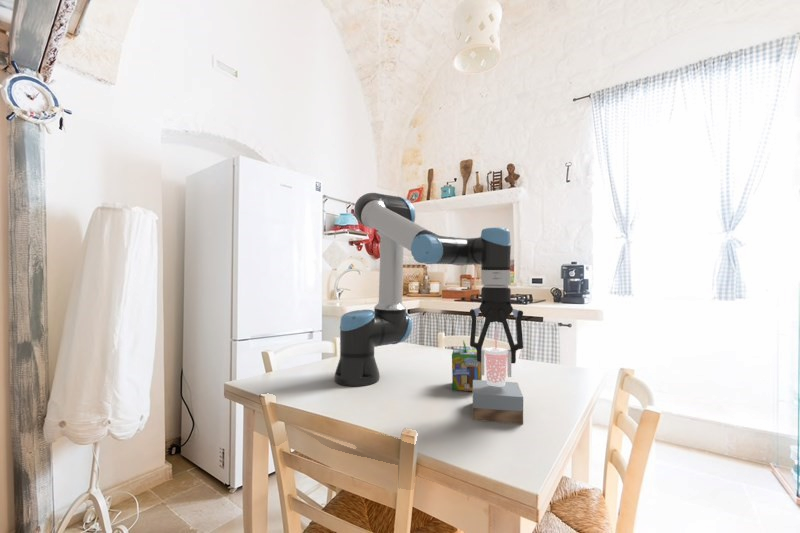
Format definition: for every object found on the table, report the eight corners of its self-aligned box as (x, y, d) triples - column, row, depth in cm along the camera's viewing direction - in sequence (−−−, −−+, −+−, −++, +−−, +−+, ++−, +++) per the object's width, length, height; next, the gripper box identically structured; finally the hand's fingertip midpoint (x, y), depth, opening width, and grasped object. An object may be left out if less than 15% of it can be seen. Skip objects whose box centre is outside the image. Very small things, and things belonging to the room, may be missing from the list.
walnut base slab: (472, 421, 89) (472, 407, 89) (473, 404, 101) (473, 392, 101) (523, 426, 86) (523, 411, 86) (518, 408, 98) (518, 395, 98)
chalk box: (482, 392, 109) (481, 344, 110) (451, 390, 111) (451, 343, 112) (481, 383, 118) (481, 339, 119) (453, 382, 120) (453, 338, 121)
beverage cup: (491, 379, 98) (491, 327, 98) (512, 383, 94) (512, 330, 94) (479, 383, 94) (479, 330, 94) (500, 389, 89) (500, 333, 90)
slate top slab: (472, 407, 89) (472, 393, 89) (472, 392, 101) (472, 379, 101) (523, 411, 87) (523, 397, 87) (517, 395, 98) (517, 382, 98)
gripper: (458, 286, 93) (458, 376, 92) (536, 287, 89) (536, 381, 88) (459, 285, 100) (459, 369, 99) (531, 286, 96) (531, 373, 96)
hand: (495, 374), depth 94 cm, fingers closed on beverage cup, 6 cm apart
